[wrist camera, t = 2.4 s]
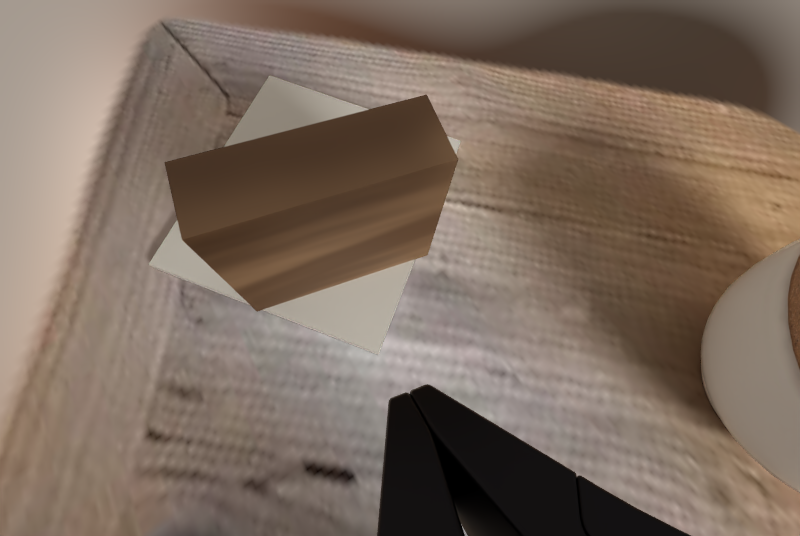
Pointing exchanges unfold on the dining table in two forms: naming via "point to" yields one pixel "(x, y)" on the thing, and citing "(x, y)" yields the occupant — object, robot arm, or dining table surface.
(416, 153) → the walnut slab
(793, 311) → the lidded bowl
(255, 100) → the felt mat
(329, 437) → the dining table surface
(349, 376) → the dining table surface
